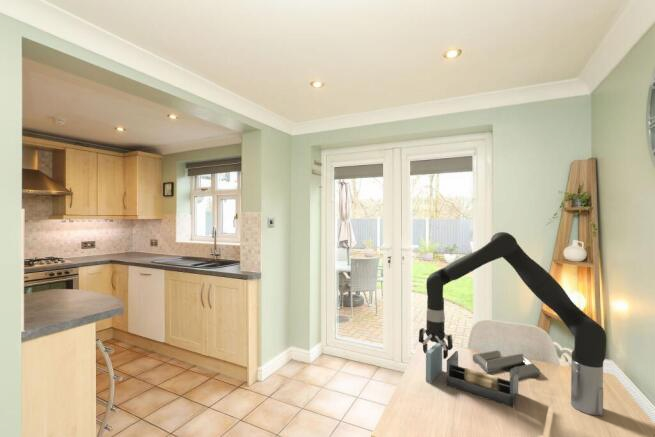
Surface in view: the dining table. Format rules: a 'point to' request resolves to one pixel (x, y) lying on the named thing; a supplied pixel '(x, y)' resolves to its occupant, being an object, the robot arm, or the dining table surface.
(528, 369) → the emblem
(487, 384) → the offcut short
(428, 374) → the blue sheet
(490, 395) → the rack
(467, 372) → the offcut long
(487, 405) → the dining table surface
